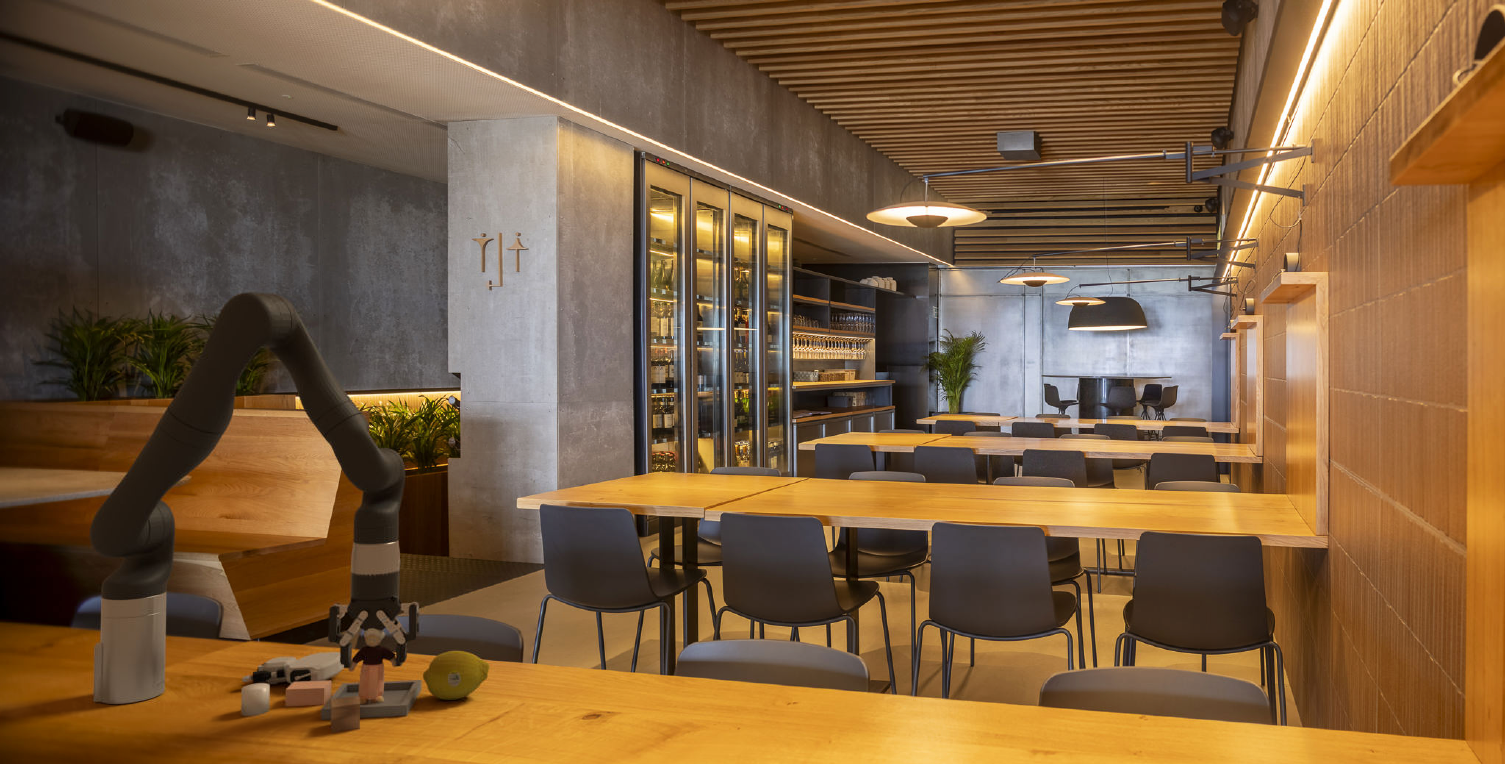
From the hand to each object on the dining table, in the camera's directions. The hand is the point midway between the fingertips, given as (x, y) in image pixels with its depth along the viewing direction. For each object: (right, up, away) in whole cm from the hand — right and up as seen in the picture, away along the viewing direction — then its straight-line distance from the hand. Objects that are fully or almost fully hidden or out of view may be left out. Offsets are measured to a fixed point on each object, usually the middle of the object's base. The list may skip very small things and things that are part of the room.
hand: (373, 666), depth 153 cm
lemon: (+13, -7, +3) cm, 15 cm away
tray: (0, -6, 0) cm, 6 cm away
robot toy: (-18, -7, +11) cm, 22 cm away
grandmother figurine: (0, -6, 0) cm, 6 cm away
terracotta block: (-11, -6, +1) cm, 13 cm away
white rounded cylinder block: (-18, -6, -4) cm, 19 cm away
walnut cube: (0, -6, -10) cm, 12 cm away
